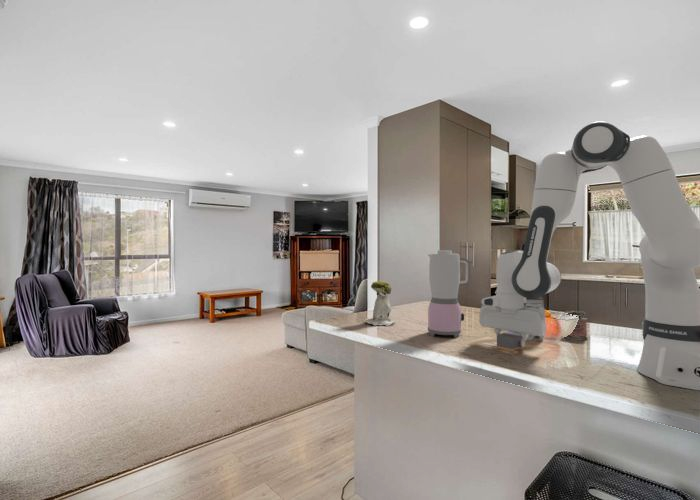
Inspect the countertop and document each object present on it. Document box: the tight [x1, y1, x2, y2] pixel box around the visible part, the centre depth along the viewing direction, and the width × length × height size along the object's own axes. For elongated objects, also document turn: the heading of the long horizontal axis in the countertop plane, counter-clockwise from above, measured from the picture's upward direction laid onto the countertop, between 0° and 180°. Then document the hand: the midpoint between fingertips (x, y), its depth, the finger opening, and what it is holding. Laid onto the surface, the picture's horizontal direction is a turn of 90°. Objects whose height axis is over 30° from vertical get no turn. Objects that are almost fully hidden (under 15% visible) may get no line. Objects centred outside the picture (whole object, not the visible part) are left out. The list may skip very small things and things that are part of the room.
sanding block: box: [496, 331, 523, 351], centre depth 118 cm, size 5×9×4 cm, turn 132°
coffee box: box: [526, 296, 545, 342], centre depth 131 cm, size 9×6×16 cm
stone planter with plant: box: [365, 280, 396, 327], centre depth 161 cm, size 12×13×18 cm
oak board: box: [464, 336, 552, 360], centre depth 119 cm, size 22×14×2 cm, turn 42°
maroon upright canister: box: [563, 310, 588, 341], centre depth 135 cm, size 8×3×10 cm, turn 76°
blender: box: [427, 249, 471, 339], centre depth 141 cm, size 16×12×32 cm
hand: (511, 344), depth 118 cm, fingers closed on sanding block, 5 cm apart
